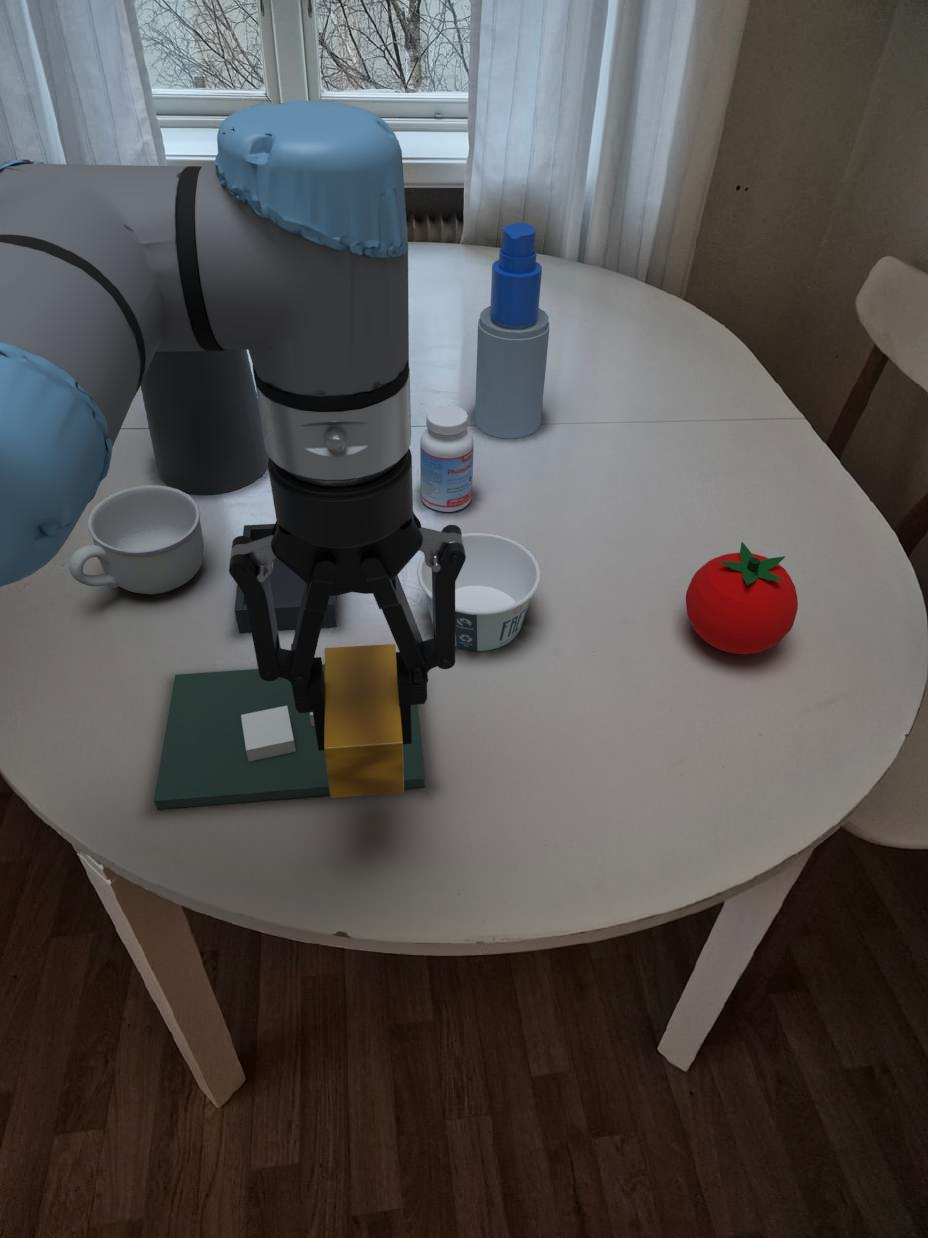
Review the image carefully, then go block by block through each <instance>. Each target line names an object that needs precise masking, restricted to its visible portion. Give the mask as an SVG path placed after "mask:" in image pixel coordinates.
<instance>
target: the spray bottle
mask: <svg viewBox="0 0 928 1238" xmlns="http://www.w3.org/2000/svg"><path fill="white" fill-rule="evenodd" d="M535 241H536V228H535V227H534V226H533V225H531V224H530V223H526V222H525V223H524V222H515V223H511V224H507V225H505V226H503V228H502V245H501V246H502V247H500V248H499V250H498V251H499V253H498V259H497V260H495V261H494V262H493V263H492V265H491V280H490V281H491V283H490V305H489V306H487V307H485V308H483V309H482V311H481V312H480V313H479V319H478V322H477V342H476V343H477V344H476V345H477V346H476V347H477V348H476V372H475V373H476V374H475V375H476V377H475V405H474V407H475V408H474V424H475V425H476V428H478V429H479V430H480V431H481V432H483V433H484V434H486V435H489V436H491V437H495V438H500V439H511V440H512V439H520V438H525V437H527V436H530V435H533V434H534V433H535V432H537V431H538V430H539V428H540V427H541V424H542V423H541V422H542V415H543V414H542V412H543V403H544V402H543V401H544V390H545V380H546V371H547V359H548V348H549V338H550V322H549V315H548V314H547V313H546V311H545V310H543V309H542V308H540V298H541V285H542V274H543V273H542V272H543V266H542V265H541V263H540V262H538V261H537V250H536V249H535V245H536V242H535Z"/></svg>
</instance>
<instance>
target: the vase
mask: <svg viewBox="0 0 928 1238" xmlns="http://www.w3.org/2000/svg"><path fill="white" fill-rule="evenodd" d="M248 353H249V352H248V350H245V349H226V350H225V351H170V352H155V354H154V356H153V358H152V360H151V363H150V365H149V367H148V370H147V372H146V374H145V376H144V379H143V381H142V383H141V385H140V391H141V394H142V395H141V396H142V400H143V404H144V409H145V414H146V415H145V416H146V420H147V425H148V430H149V435H150V440H151V447H152V449H153V455H154V458H155V459H154V460H155V465H156V469H157V473H158V476H159V478H160V479H161V481H162V482H163V483H164V484H165V485H166V486H167V487H171V488H175V489H178V490H180V491H182V492H184V493H186V494H189V495H192V494H193V495H200V496H201V495H203V496H204V495H207V496H208V495H220V494H225V493H230V492H234V491H237V490H239V489H242V488H244V487H246V486H249V485H250V484H252V483H254V482H256V481H257V480H258V479H259V478H260V477H262V476H263V475H264V473H265V472H266V471H267V470H268V460H269V455H268V453H267V451H266V449H265V445H264V438H263V431H262V425H261V418H260V411H259V404H258V397H257V391H256V384H255V380H254V374H253V370H252V368H251V367H252V366H251V362H250V358H249V354H248Z"/></svg>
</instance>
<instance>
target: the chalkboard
mask: <svg viewBox="0 0 928 1238" xmlns="http://www.w3.org/2000/svg"><path fill="white" fill-rule="evenodd" d="M322 667H323V674H324V681H325V663H324V664H323V663H322ZM169 704H170V705H169V710H168V717H167V722H166V728H165V734H164V739H163V746H162V750H161V751H162V752H161V758H160V763H159V768H158V774H157V781H156V786H155V792H154V797H153V802H154V805H155V807H156V809H157V810H164V809H176V808H188V807H189V808H190V807H201V806H213V805H224V804H237V803H248V802H249V803H251V802H260V801H262V802H263V801H271V800H285V799H295V798H297V799H298V798H309V797H318V796H330V789H329V781H328V773H327V766H326V758H325V751H324V750H322V751H319V750H318V744H317V737H316V730H315V726H311V720H310V713H299V712H298V711H297V710H296V707H295V702H294V696H293V690H292V685H291V683H290V681H288V680H287V679H284V678H279V677H278V678H277V679H276V680H275V681H265V680H263V679H261V677H260V675H259V670H258V668H253V669H251V668H250V669H238V670H237V669H236V670H235V669H234V670H224V671H223V670H221V671H209V672H207V671H206V672H194V673H193V672H192V673H179V674H175V676H174V682H173V687H172V692H171V699H170V703H169ZM282 706H287V707H288V712H289V717H290V722H291V728H292V733H293V738H294V743H295V748H296V752H292V753H287V754H282V755H278V756H273V757H268V758H264V759H259V760H255V761H250V762H249V761H248V757H247V753H246V748H245V741H244V734H243V727H242V720H241V715H243V714H248V713H253V712H258V711H263V710H268V709H273V708H278V707H282ZM420 731H421V730H420V722H419V712H418V704H417V705H411V733H412V744H403V766H404V790H405V789H414V788H415V789H416V788H417V789H418V788H425V771H424V763H423V762H424V761H423V752H422V742H421V741H422V740H421V734H420V733H421V732H420Z"/></svg>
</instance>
